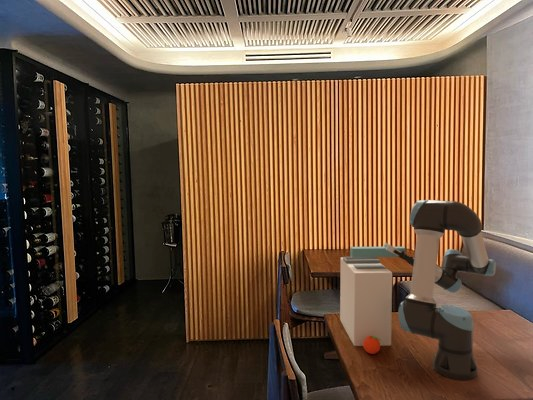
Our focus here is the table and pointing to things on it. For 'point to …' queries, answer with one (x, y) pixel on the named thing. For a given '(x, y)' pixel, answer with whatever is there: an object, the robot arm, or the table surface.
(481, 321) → the table surface
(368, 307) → the tall cream box
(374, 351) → the tomato
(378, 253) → the teal block
